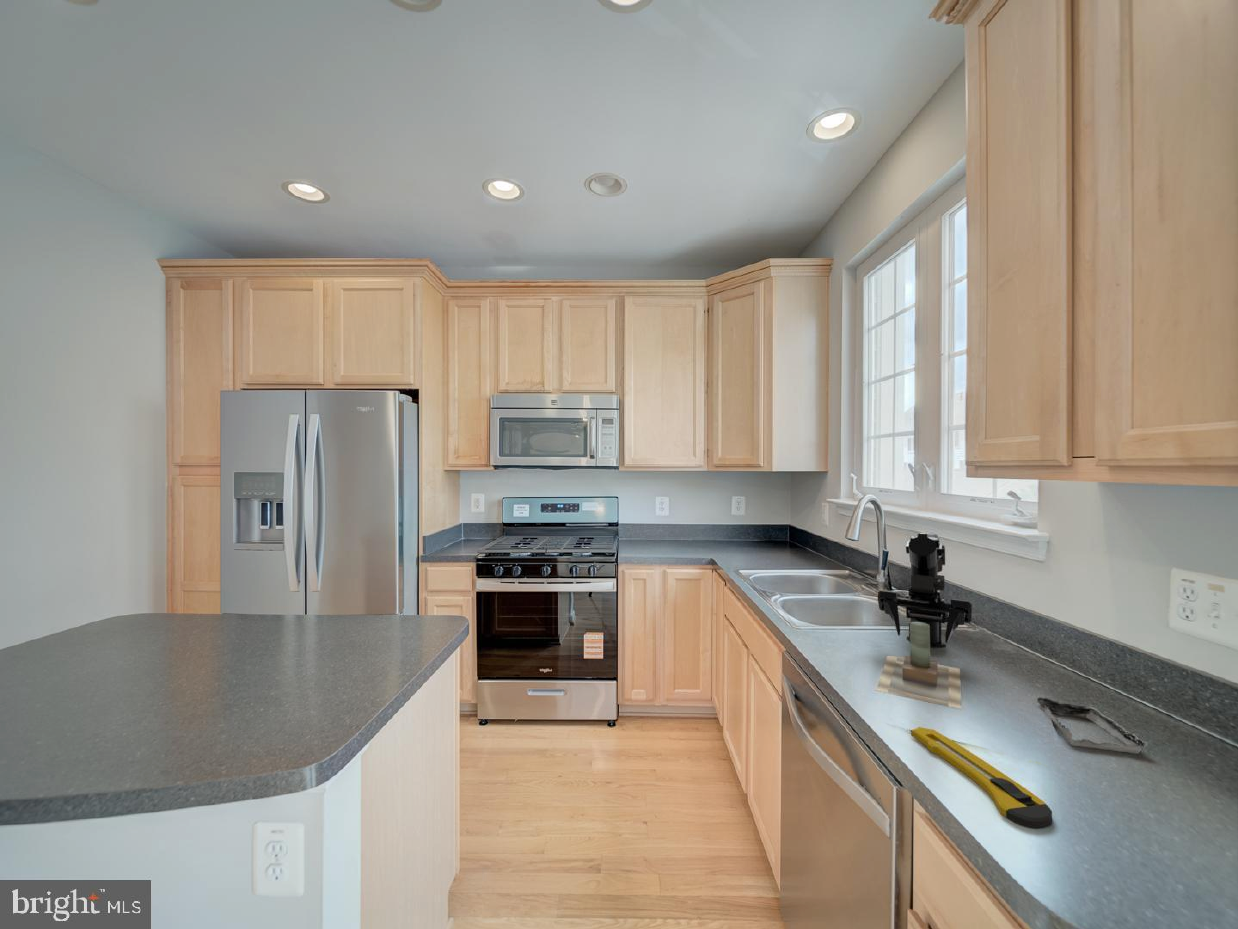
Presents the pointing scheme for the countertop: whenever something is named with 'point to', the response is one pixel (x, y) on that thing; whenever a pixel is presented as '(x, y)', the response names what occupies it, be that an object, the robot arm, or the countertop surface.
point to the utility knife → (989, 781)
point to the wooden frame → (942, 694)
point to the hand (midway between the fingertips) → (922, 638)
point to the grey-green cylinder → (920, 657)
